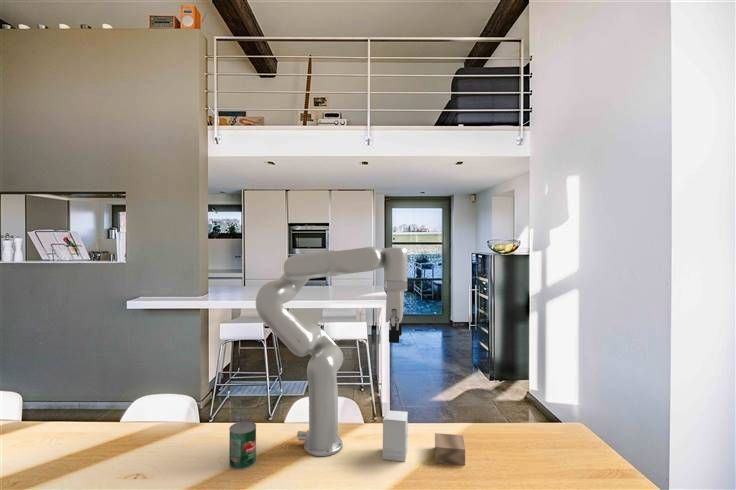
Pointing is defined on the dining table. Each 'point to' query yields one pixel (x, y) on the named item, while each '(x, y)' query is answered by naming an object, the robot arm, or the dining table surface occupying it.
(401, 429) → the supplement box
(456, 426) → the dining table surface
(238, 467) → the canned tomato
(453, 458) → the walnut block
